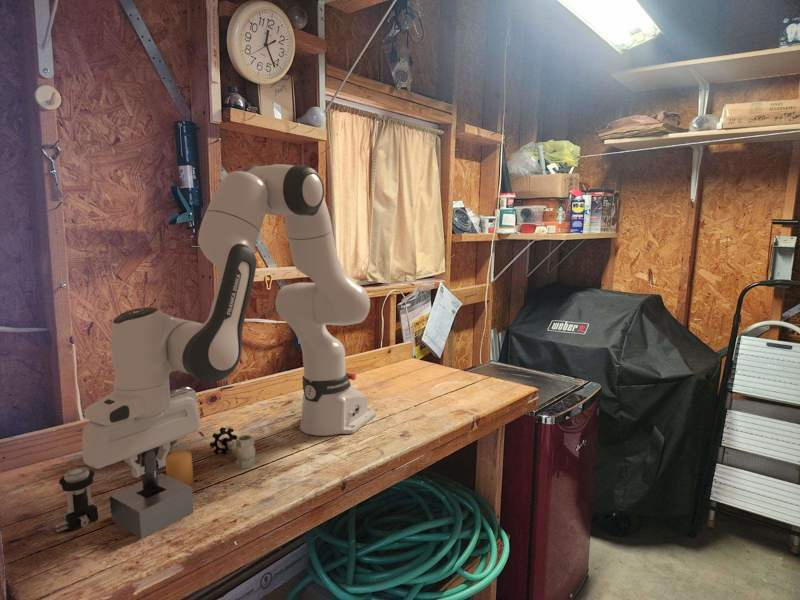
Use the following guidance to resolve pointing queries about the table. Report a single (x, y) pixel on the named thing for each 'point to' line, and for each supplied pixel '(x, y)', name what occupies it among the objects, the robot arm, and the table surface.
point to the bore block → (151, 506)
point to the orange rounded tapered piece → (180, 467)
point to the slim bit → (149, 469)
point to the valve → (236, 447)
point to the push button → (78, 498)
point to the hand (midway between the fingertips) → (149, 471)
